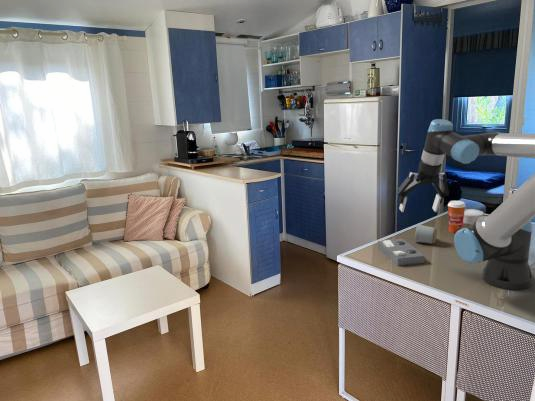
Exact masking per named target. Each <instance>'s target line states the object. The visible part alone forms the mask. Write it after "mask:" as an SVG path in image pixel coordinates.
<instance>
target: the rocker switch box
mask: <svg viewBox="0 0 535 401" xmlns="http://www.w3.org/2000/svg"><path fill="white" fill-rule="evenodd" d="M389 240H390V241H391V242H392V243H393V245H394V246H395V247H386V246H385V245H384V244H383V241H385V240H378V241H377V248H378V249H379V251H381V252H382V253H383V254H384V255H385V256H386V257H387V258H389V259H390V261H391V262H393V263H394V264H395V265H396V266H397V267H399V266H408V265H415V264H424V263H425V259H426V258H425V254H423V253H422V252H421V251H419V250H417V248H416V247H414V246H413V245H411V244H410V243H409V242H408V241H406V240H405V239H403V238H396V239H395V238H394V239H389ZM392 251H403V252H405V255H402V256H397V255H395V254H394V253H393V252H392Z"/></svg>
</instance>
